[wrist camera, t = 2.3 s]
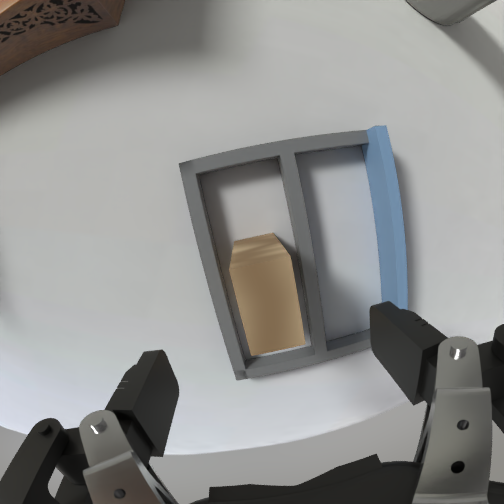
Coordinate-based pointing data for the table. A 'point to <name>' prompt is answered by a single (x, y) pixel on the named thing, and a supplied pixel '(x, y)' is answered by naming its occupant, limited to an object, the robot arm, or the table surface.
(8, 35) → the tissue box cover
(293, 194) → the organizer
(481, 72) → the table surface
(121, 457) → the robot arm
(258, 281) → the plug block
